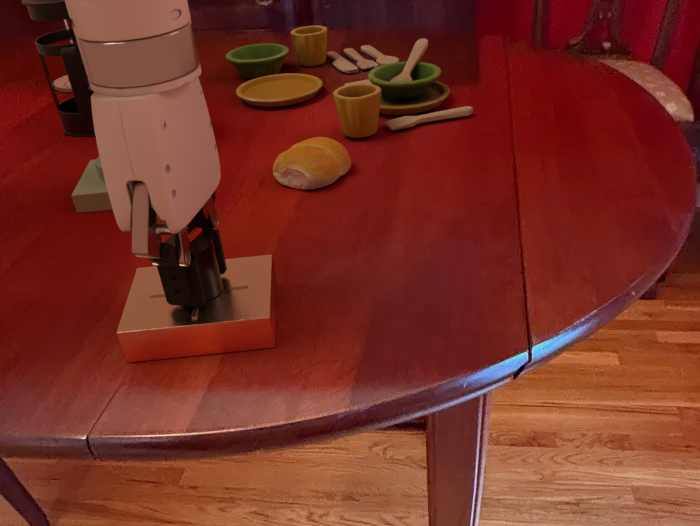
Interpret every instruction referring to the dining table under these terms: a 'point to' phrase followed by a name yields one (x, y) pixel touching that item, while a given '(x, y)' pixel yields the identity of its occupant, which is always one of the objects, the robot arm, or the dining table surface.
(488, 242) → the dining table surface
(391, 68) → the tableware set
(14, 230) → the dining table surface
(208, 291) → the hob knob
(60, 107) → the french press
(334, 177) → the bread roll
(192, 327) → the panel
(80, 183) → the control box
